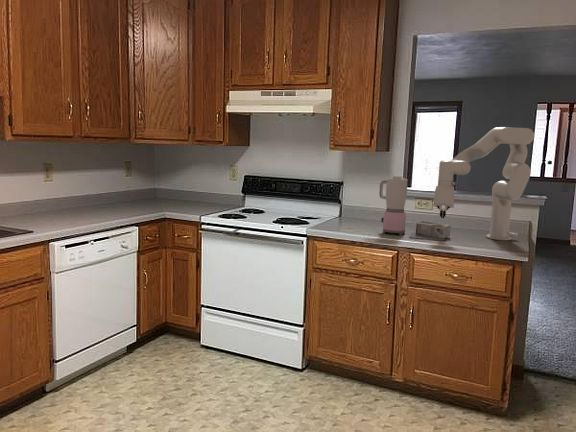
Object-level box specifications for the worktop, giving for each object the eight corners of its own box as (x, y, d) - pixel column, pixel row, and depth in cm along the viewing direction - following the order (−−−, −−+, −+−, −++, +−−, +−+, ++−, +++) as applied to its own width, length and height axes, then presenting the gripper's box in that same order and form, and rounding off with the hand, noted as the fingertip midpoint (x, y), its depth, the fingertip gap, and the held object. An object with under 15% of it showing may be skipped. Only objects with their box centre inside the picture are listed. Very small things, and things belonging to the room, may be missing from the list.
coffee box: (450, 236, 268) (422, 232, 278) (451, 224, 267) (423, 220, 277) (443, 238, 261) (415, 234, 271) (444, 226, 260) (416, 222, 270)
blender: (407, 232, 278) (411, 176, 273) (402, 236, 267) (406, 177, 262) (380, 229, 285) (383, 174, 280) (374, 232, 274) (377, 175, 269)
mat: (444, 236, 271) (445, 235, 271) (444, 241, 257) (444, 240, 257) (411, 233, 277) (411, 232, 276) (409, 237, 262) (409, 237, 262)
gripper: (460, 184, 261) (457, 218, 264) (430, 182, 266) (428, 215, 269) (460, 185, 254) (457, 220, 257) (430, 183, 259) (427, 217, 262)
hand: (442, 217), depth 263 cm, fingers closed
